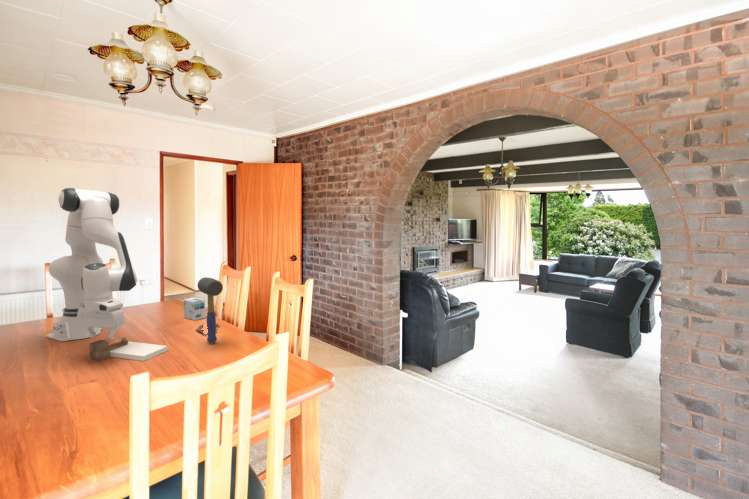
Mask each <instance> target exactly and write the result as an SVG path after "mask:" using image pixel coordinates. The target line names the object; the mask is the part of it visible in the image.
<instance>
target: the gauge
mask: <svg viewBox="0 0 749 499" xmlns="http://www.w3.org/2000/svg"><path fill="white" fill-rule="evenodd" d="M128 341H129V340H127V337H122V338H121V340H119V341H117V342H114V343H112V344H109V340H105V339H98V340H95V341H92V342H90V343H89V344H88V346H89V358H90V359H89V360H90V361H92V362H101V361H104V360H105V359H108V358H110V356H109V351H110V350H112V349H115V348H118V347H120V346H123V345H126V344H128Z"/></svg>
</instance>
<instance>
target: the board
mask: <svg viewBox="0 0 749 499" xmlns="http://www.w3.org/2000/svg"><path fill="white" fill-rule="evenodd" d="M168 348H169V347H168V345H161V344H153V343H147V342H146V343H145V342H139V341H137V342H136V341H130V340H128V344H126V345H123V346H120V347H118V348H115V349H112V350H110V351H109V358H119V359H126V360H131V361H132V360H133V361H140V362H141V361H142V362H146V361H148V360H150V359H152V358H154V357H156V356H158V355H161V354H163V353H165V352H167V351H169V349H168Z"/></svg>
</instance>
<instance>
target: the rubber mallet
mask: <svg viewBox="0 0 749 499" xmlns="http://www.w3.org/2000/svg"><path fill="white" fill-rule="evenodd" d="M223 288H224V287H223V283H222V282H221V281H220V280H217V279H215V278H213V277H206V276H205V277H202V278H200V279H199V281H198V283H197V289H198V290H199V291H200V292H201V293H202V294H205V295H206V296H207V313H206V322H207V327H208V336H207V339H206V340H207V343H208V344H211V345H212V344H215V343H216V342H217V340H218V339H217V333H216V331H215V326H216V324H217V318H216V313H215V302H214V300H215V299H214V297H215V296H218V295H220V294H221V293H222V292H223Z"/></svg>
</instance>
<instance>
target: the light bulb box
mask: <svg viewBox="0 0 749 499" xmlns="http://www.w3.org/2000/svg"><path fill="white" fill-rule="evenodd" d="M205 301H206V300H205V299H202V298H198V297H189V298H184V299H183V312H184V313H183V314H184V316H183V317H184V318H185V319H188V320H191V319H192V320H191V321H198V319H199V320H202V318H203V319H207V315H206V302H205Z"/></svg>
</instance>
